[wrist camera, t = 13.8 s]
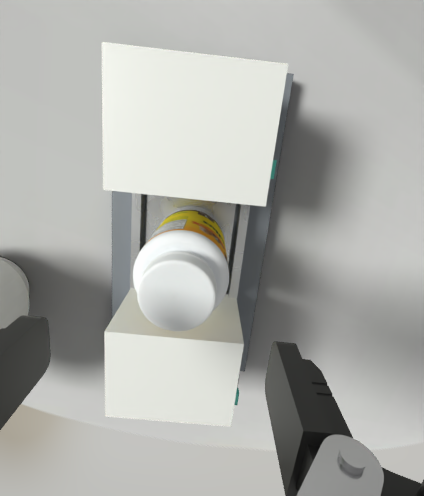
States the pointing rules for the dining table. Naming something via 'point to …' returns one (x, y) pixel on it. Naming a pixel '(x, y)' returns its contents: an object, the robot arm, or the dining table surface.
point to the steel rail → (218, 211)
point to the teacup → (12, 293)
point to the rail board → (252, 248)
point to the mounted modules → (191, 187)
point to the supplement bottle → (182, 271)
